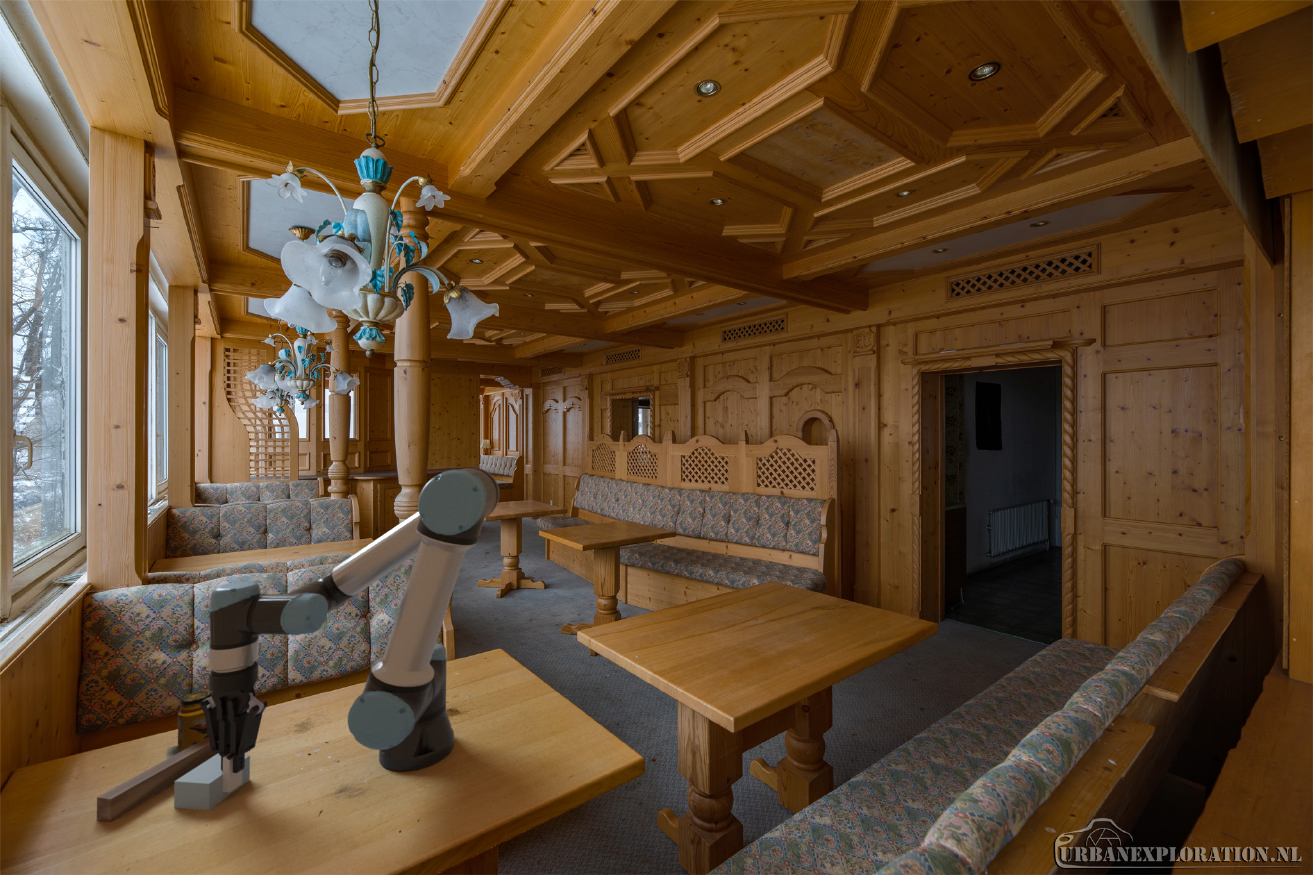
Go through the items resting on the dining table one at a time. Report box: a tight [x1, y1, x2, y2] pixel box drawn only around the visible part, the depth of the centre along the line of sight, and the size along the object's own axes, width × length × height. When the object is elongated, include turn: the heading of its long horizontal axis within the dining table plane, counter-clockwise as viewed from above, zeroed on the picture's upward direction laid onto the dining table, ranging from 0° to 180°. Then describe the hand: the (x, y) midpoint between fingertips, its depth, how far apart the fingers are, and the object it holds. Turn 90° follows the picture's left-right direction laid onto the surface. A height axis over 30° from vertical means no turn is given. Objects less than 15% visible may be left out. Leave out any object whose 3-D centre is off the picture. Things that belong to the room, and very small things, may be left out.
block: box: [173, 754, 251, 811], centre depth 105 cm, size 7×9×5 cm
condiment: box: [162, 690, 212, 762], centre depth 119 cm, size 7×8×12 cm
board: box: [96, 737, 219, 823], centre depth 107 cm, size 3×20×4 cm, turn 170°
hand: (232, 787), depth 104 cm, fingers closed
